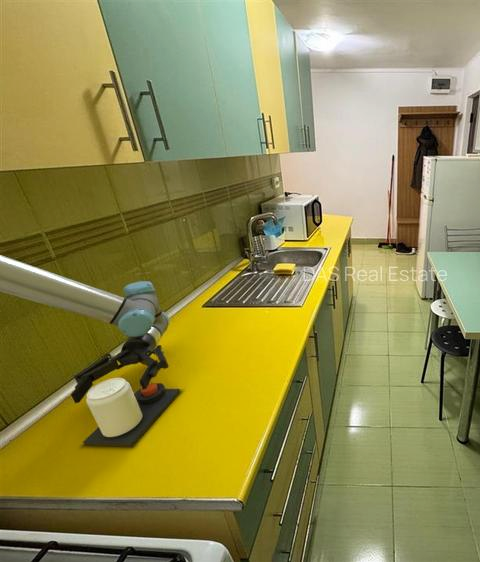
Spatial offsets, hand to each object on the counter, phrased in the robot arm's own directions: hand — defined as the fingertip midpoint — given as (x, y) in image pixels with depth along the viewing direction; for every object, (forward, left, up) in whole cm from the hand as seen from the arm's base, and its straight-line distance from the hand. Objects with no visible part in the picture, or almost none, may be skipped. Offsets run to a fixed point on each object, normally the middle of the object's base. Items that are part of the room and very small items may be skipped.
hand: (109, 391), depth 73 cm
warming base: (0, +3, -12) cm, 12 cm away
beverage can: (0, -1, -11) cm, 11 cm away
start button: (0, +9, -9) cm, 13 cm away
